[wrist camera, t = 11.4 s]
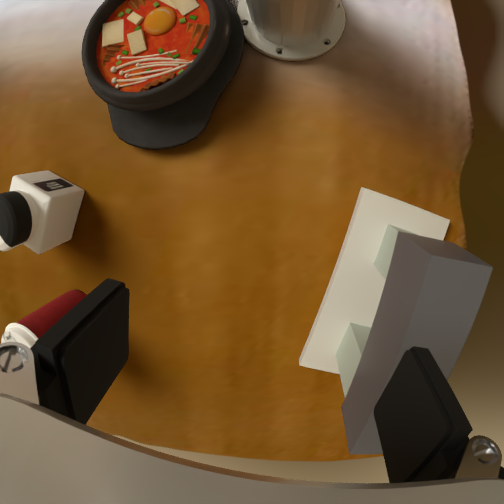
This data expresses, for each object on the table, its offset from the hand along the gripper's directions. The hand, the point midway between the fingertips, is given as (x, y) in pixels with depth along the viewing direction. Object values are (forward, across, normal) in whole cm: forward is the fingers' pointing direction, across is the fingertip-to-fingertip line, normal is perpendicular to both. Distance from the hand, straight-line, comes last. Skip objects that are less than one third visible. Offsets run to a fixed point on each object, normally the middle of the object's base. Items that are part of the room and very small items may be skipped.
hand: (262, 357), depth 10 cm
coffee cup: (+28, +25, +21) cm, 43 cm away
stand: (+28, -14, +8) cm, 33 cm away
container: (+29, +30, +6) cm, 42 cm away
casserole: (+29, +17, -16) cm, 37 cm away
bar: (+18, -14, +8) cm, 24 cm away
